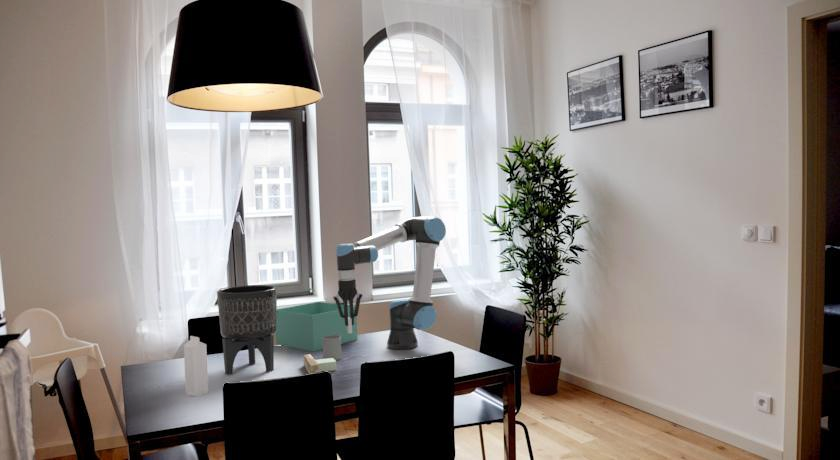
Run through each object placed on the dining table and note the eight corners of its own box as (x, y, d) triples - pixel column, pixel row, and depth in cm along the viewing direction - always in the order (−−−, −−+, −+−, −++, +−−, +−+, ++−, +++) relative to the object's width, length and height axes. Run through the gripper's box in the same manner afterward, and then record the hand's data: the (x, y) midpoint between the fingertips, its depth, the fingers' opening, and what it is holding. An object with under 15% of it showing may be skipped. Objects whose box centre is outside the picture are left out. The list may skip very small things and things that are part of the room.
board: (310, 365, 273) (310, 354, 273) (318, 376, 254) (318, 364, 254) (303, 366, 272) (303, 354, 272) (311, 377, 253) (311, 365, 253)
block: (333, 366, 270) (333, 357, 270) (336, 370, 264) (336, 361, 264) (313, 369, 267) (312, 360, 267) (315, 373, 261) (315, 363, 261)
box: (319, 333, 341) (318, 301, 340) (357, 340, 322) (356, 306, 321) (275, 344, 318) (274, 309, 317) (313, 351, 299) (312, 315, 298)
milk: (199, 390, 240) (197, 334, 240) (208, 392, 237) (206, 335, 236) (185, 394, 235) (183, 337, 235) (194, 396, 232) (192, 338, 231)
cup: (337, 360, 279) (337, 339, 279) (320, 360, 281) (319, 338, 281) (343, 356, 288) (342, 335, 287) (327, 355, 289) (326, 334, 289)
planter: (290, 363, 277) (287, 285, 275) (258, 379, 253) (255, 293, 251) (243, 360, 285) (240, 284, 283) (208, 375, 261) (204, 292, 260)
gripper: (359, 276, 273) (362, 329, 274) (330, 279, 268) (333, 332, 270) (363, 278, 266) (366, 332, 267) (333, 281, 261) (337, 336, 263)
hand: (349, 332), depth 269 cm, fingers closed
